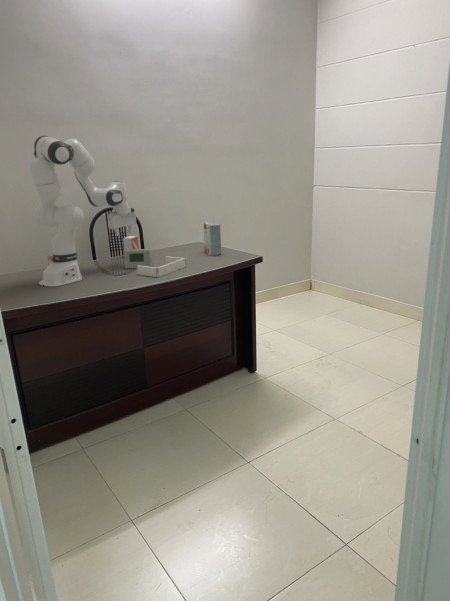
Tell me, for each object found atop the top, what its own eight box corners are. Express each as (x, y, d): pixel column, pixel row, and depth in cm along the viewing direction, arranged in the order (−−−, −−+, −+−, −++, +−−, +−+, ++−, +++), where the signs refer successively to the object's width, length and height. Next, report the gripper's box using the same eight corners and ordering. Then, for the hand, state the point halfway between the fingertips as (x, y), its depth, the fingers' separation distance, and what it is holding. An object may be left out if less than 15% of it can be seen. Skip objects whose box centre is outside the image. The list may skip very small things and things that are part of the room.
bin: (158, 277, 227) (157, 268, 225) (137, 274, 234) (137, 265, 232) (186, 266, 249) (185, 258, 247) (166, 264, 255) (166, 256, 254)
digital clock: (123, 269, 246) (121, 251, 243) (128, 265, 255) (127, 248, 251) (150, 269, 244) (149, 251, 241) (155, 265, 253) (153, 248, 250)
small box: (133, 258, 275) (131, 238, 270) (124, 257, 277) (122, 237, 273) (139, 255, 282) (137, 236, 278) (131, 255, 284) (129, 235, 280)
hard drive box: (204, 251, 289) (203, 222, 283) (215, 250, 291) (214, 221, 285) (210, 256, 275) (209, 225, 269) (221, 255, 277) (220, 224, 271)
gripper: (112, 212, 234) (115, 237, 238) (136, 208, 250) (139, 231, 255) (104, 212, 237) (107, 237, 241) (128, 208, 253) (131, 231, 258)
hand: (123, 234), depth 248 cm, fingers open, 8 cm apart
